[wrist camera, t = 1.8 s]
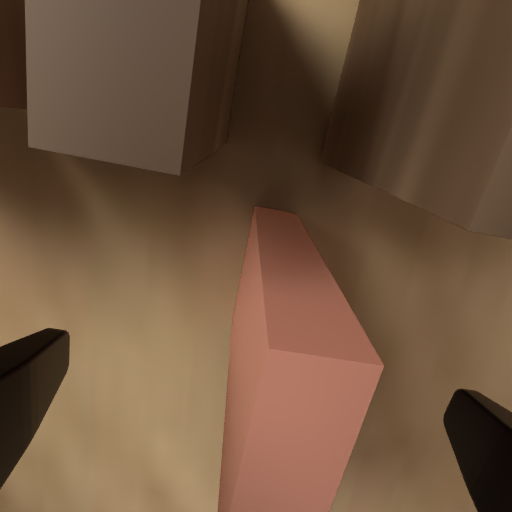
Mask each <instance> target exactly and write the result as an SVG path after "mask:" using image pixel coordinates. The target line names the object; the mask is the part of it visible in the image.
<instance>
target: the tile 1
mask: <svg viewBox="0 0 512 512" xmlns="http://www.w3.org/2000/svg"><path fill="white" fill-rule="evenodd" d="M0 107H10V108H22V109H27V72H26V28H25V0H0Z"/></svg>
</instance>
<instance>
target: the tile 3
mask: <svg viewBox="0 0 512 512" xmlns="http://www.w3.org/2000/svg"><path fill="white" fill-rule="evenodd" d="M320 162H322V163H324V164H326V165H328V166H330V167H332V168H335V169H337V170H339V171H341V172H343V173H345V174H347V175H350V176H352V177H354V178H356V179H358V180H360V181H362V182H365V183H367V184H369V185H371V186H373V187H375V188H377V189H380V190H382V191H384V192H386V193H388V194H390V195H392V196H395V197H397V198H399V199H401V200H403V201H405V202H407V203H410V204H412V205H414V206H416V207H418V208H420V209H422V210H425V211H427V212H429V213H431V214H433V215H435V216H437V217H440V218H442V219H444V220H446V221H448V222H450V223H452V224H455V225H457V226H459V227H461V228H463V229H465V230H467V231H471V232H476V233H482V234H487V235H492V236H497V237H503V238H508V239H512V0H360V2H359V6H358V10H357V14H356V18H355V22H354V26H353V30H352V34H351V39H350V43H349V47H348V51H347V55H346V59H345V63H344V67H343V71H342V75H341V79H340V83H339V87H338V91H337V95H336V99H335V103H334V107H333V112H332V116H331V120H330V124H329V128H328V132H327V136H326V140H325V144H324V148H323V152H322V156H321V160H320Z"/></svg>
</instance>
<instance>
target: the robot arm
mask: <svg viewBox="0 0 512 512" xmlns="http://www.w3.org/2000/svg"><path fill="white" fill-rule="evenodd" d="M69 345H70V336H69V333H68V332H67V331H66V330H60V329H53V328H47V329H44V330H41V331H39V332H36V333H34V334H31V335H29V336H26V337H24V338H21V339H19V340H16V341H14V342H11V343H8V344H6V345H3V346H1V347H0V489H1V487H2V486H3V484H4V483H5V481H6V480H7V478H8V477H9V475H10V474H11V472H12V471H13V469H14V467H15V466H16V464H17V463H18V461H19V460H20V458H21V457H22V455H23V454H24V452H25V450H26V449H27V447H28V446H29V444H30V442H31V441H32V439H33V437H34V435H35V433H36V432H37V430H38V428H39V426H40V424H41V422H42V420H43V418H44V416H45V414H46V412H47V410H48V408H49V406H50V404H51V402H52V400H53V398H54V396H55V394H56V393H57V391H58V389H59V387H60V385H61V383H62V381H63V379H64V377H65V375H66V373H67V370H68V366H69ZM443 421H444V426H445V429H446V432H447V435H448V437H449V440H450V443H451V446H452V448H453V451H454V454H455V456H456V459H457V462H458V465H459V467H460V470H461V473H462V475H463V478H464V481H465V483H466V486H467V488H468V491H469V493H470V496H471V498H472V500H473V503H474V505H475V507H476V509H477V511H478V512H512V412H510V411H508V410H507V409H505V408H504V407H502V406H500V405H499V404H497V403H495V402H494V401H492V400H491V399H489V398H487V397H486V396H484V395H482V394H481V393H479V392H477V391H474V390H468V389H458V390H456V391H455V393H454V394H453V397H452V399H451V401H450V403H449V405H448V407H447V409H446V411H445V414H444V418H443Z"/></svg>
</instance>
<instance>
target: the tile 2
mask: <svg viewBox="0 0 512 512" xmlns="http://www.w3.org/2000/svg"><path fill="white" fill-rule="evenodd" d="M247 6H248V0H25V28H26V72H27V116H28V147H31V148H36V149H41V150H47V151H52V152H57V153H62V154H68V155H73V156H78V157H84V158H89V159H94V160H99V161H105V162H110V163H115V164H120V165H126V166H131V167H136V168H141V169H147V170H152V171H157V172H162V173H168V174H173V175H178V176H180V175H182V174H183V173H185V172H186V171H187V170H189V169H190V168H192V167H193V166H194V165H196V164H197V163H199V162H200V161H201V160H203V159H204V158H206V157H207V156H208V155H210V154H211V153H213V152H214V151H215V150H217V149H218V148H220V147H221V146H222V145H224V144H225V143H226V140H227V133H228V127H229V120H230V114H231V108H232V101H233V95H234V89H235V82H236V76H237V69H238V63H239V57H240V50H241V44H242V37H243V31H244V25H245V18H246V12H247Z"/></svg>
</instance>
